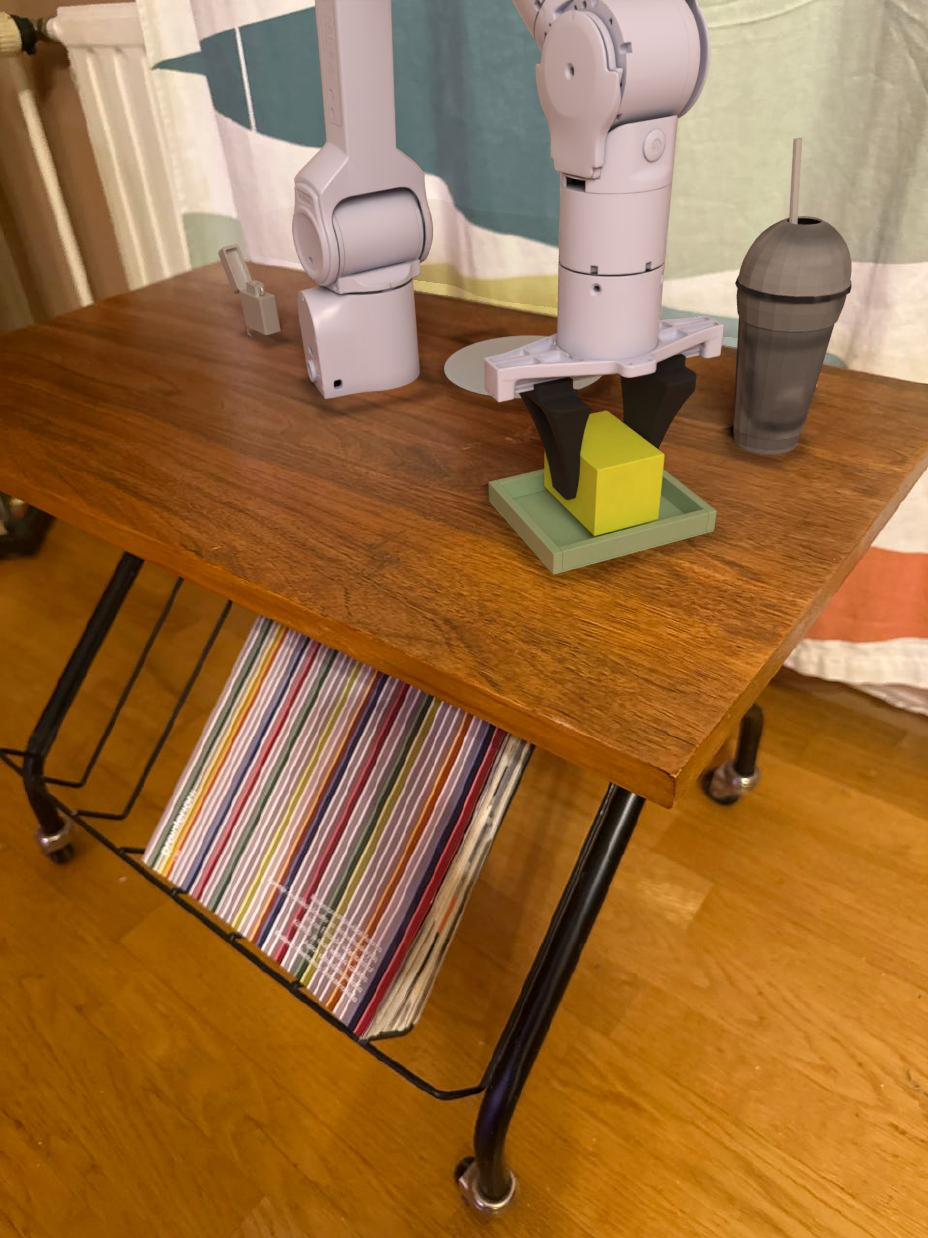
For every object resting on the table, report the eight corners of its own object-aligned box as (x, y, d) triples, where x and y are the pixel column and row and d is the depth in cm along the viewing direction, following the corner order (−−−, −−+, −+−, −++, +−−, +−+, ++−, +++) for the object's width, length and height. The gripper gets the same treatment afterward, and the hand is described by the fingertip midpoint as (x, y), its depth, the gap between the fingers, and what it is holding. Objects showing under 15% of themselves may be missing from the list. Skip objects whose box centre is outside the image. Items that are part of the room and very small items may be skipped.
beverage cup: (800, 476, 62) (867, 154, 50) (698, 454, 65) (738, 146, 53) (828, 434, 67) (895, 131, 54) (732, 415, 70) (775, 125, 58)
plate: (481, 422, 71) (481, 410, 70) (421, 362, 81) (421, 351, 81) (636, 388, 75) (637, 377, 74) (560, 336, 85) (560, 325, 85)
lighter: (283, 340, 87) (269, 254, 83) (267, 344, 87) (252, 258, 82) (247, 323, 92) (232, 241, 87) (232, 327, 91) (216, 244, 86)
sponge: (594, 536, 54) (597, 470, 52) (543, 486, 60) (544, 423, 57) (658, 519, 56) (665, 454, 53) (603, 471, 61) (607, 409, 58)
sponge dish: (553, 579, 53) (553, 554, 52) (488, 505, 61) (488, 481, 59) (713, 535, 56) (717, 510, 55) (634, 469, 64) (636, 446, 62)
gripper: (520, 303, 44) (521, 540, 52) (769, 258, 48) (734, 486, 56) (466, 266, 49) (475, 487, 57) (694, 229, 53) (672, 440, 61)
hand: (599, 483), depth 57 cm, fingers closed on sponge, 4 cm apart
